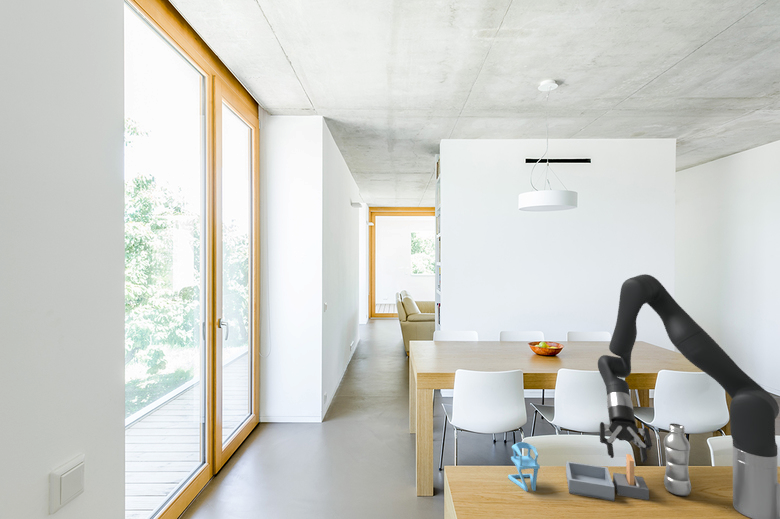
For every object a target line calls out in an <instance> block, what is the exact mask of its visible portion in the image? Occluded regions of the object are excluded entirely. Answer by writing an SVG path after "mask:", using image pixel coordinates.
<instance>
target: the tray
mask: <svg viewBox="0 0 780 519" xmlns="http://www.w3.org/2000/svg"><path fill="white" fill-rule="evenodd" d="M565 476H566V482H567V487H568V488H567V489H568V493H569V494H572V495H578V496H584V497H590V498H595V499H601V500H606V501H612V502H615V486H614V483H613V478H612V477H611V473H610V471H609V469H608V467H607V466H601V465H595V464H589V463H581V462H576V461H575V462H574V461H568V460H566V461H565Z"/></svg>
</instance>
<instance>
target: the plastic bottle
mask: <svg viewBox="0 0 780 519" xmlns="http://www.w3.org/2000/svg"><path fill="white" fill-rule="evenodd" d="M668 427H669V428H668V431H669V433H667V434H666V435H665V437H664V438H663V446H664V452H665V453H664V454H665V465H666V466H665V474H664V477H663V478H664V479H663V483H664V487H665V488H666V490H667V491H668V492H670V493H671V494H674V495H675V496H682V497H687V496H688V495H690V493H691V491H692V485H691V480H690V474H689V471H690V470H689V460H690V459H689V458H690V452H691V444H690V442H689V440H688V438H687V437H686V436H685V434H686V431H685V430H686V429H685V425H682V424H679V423H675V422H673V423H671V422H670V423H669V426H668Z"/></svg>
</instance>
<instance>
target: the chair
mask: <svg viewBox="0 0 780 519" xmlns="http://www.w3.org/2000/svg"><path fill="white" fill-rule="evenodd" d="M511 449H512V452H513V456H510V460H511V461H512V463H513V464H514V465H515V467H516V470H517V472H518V473H517V474H508V475H507V476H508V478H507V479H508V480H510V481H511V482H512V483H514V484H515V485H517V486H518V487H520V488H521V489H522V490H524V491H525V492H529V490H528V489H529V487H528V485H527V482H526V480H525V478H529V480H530V486H531V489H532V491H534V492H536V491H537V489H536V486H537V479H538V472H539V469H541V465H540V464H539V463H538V458H539V453H538V451H537V450H538V449H537V448H536V446H534V445H532V444H530V443H528V442H524V441H520V442H516V443H514V444H513V445H512V446H511ZM520 449H527V455H522V452H521V450H520ZM531 450H532V451H533V454H534V455H535V457H534V458H533V457H532V455H531ZM517 455H518V456H517ZM528 469H529V470H530V469H532V470H533V474H532V473H522V471H523V470H528ZM519 478H520V479H521V480H520V481H519V480H518V479H519Z"/></svg>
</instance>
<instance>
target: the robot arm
mask: <svg viewBox="0 0 780 519" xmlns="http://www.w3.org/2000/svg"><path fill="white" fill-rule="evenodd" d="M645 304H647V305H648V306H649V307H650V308H652V310H653V311H654V312H655V313H656V314H657V316H658V317H659V318H660V320H661V321H662V323H663V326H664V329H665V331H666V334H667V338H668V339H669V340H670V342H671V343H672V344H673V346H674V347H675V348H676V349H677V350H678V351H679V352H680V354H682V356H683V357H684V358H685V359H686V360H688V361H689V362H690V363H691V364H692V365H693V366H695V367H696V368H697V369H699V370H701V371H702V372H704V373H705V374H707V375H708V376H709V377H711V379H713V380H715V382H717V384H719V386H721V387H722V388H723V390H724V391H725V392H726V393H727V395H729V397H730V398H731V401H730V404H729V421H730V424H729V425H730V436H731V439H732V507H733V508H734V509H735V510H736V512H738V513H740V514H742V515H744V516H745V517H747V518H750V519H780V483H779V482H778V444H777V441H776V419H777V417H778V415H779V412H780V407H779V404H778V402H777V400H776V399H775V397H774V396H772V395H771V394H770V393H769V392H768V391H767V390H765V389H764V387H762V386H761V385H760V384H759V383H757V382H756V381H755V380H754V379H753V378H751V377H750V376H749V375H748V374H747V373H746V372H745V371H743V370H742V368H740V367H739V366H738V364H737V363H736V362H735V361H734V360H733V359H732V358H731V357H730V355H728V353H727V352H726V351H725V350H724V349H723V348H722V347H721V346H720V345H719V344H718V342H716V341H715V339H714V338H712V337H711V336H710V335H709V334H708V333H707V332H706V331H705V330H704V329H703V328H702V326H700V324H698V323H697V322H696V321H695V320H694V319H693V318H692V316H690V315H689V314H688V313H687V311H685V309H683V307H681V306H680V304H679V303H678V302H677V301H676V300H675V298H674V297H673V296H672V295H671V294H670V293H669V291H668V290H667V289H666V287H665V286H664V285H663V284H662V283H661V282H660V280H658V278H656V277H654V275H653V276H652V275H651V274H648V273H647V274H639V275H636V276H633V277H630V278H628V279H626V280H625V281H624V282H623V283H622V284H621V288H620V293H619V301H618V310H617V316H616V322H615V325H614V328H613V329H614V330H613V334H612V336H611V339H610V342H609V345H608V348H609V351H610V353H612V354H613V356H612V355H607V354H603V355H601V356H600V357H598V360H597V369H598V371H599V374H600V377H601V378H602V380H603V382H604V385H605V390H606V396H607V398H606V403H607V405H606V406H607V407H606V408H607V411H608V422H609V424H606V423H604V422H603V421H600V422H599V442H600V444H605V446H606V449H607V454H608V456H609V457H610V458H611V459H613V458H614V456H615V453H614V446H613V443H614V442H615V441H616V440H619V441H625V442H632V443H633V444H634V445H635V446H636V447H638V448H639V454H640V460H641V463H645V462H646V461H647V460H648V454H647V453H648V452H647V450H651V448H652V447H653V442H652V438H651V434H650V431H649V428H648V427H644V428H638V426H637V423H636V416H635V411H634V405H633V402H632V398H631V394H630V387H629V386H630V385H629V384H628V382H627V381H626V380H624V379H626V378H628V377H629V376H630V375H631V373H632V353H633V352H632V351H633V349H634V346H635V344H636V340H637V334H638V331H637V329H638V328H637V318H638V315H639V313H640V311H641V309H642V308H643V306H644V305H645ZM614 355H615V356H614ZM607 430H609V431H610V432H611V433H612V434H610V436H609V437H608V438H606V432H607ZM638 433H639V434H640V435H641V437H643V440H644V442H643V441H642V440H641V438H640V436H639V435H638Z"/></svg>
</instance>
